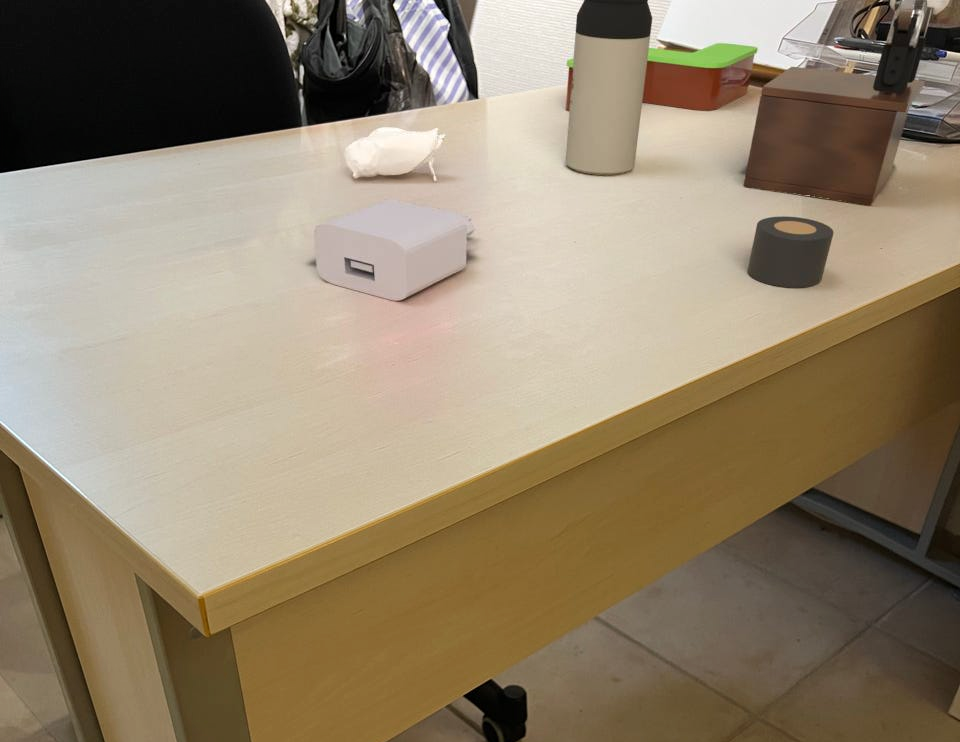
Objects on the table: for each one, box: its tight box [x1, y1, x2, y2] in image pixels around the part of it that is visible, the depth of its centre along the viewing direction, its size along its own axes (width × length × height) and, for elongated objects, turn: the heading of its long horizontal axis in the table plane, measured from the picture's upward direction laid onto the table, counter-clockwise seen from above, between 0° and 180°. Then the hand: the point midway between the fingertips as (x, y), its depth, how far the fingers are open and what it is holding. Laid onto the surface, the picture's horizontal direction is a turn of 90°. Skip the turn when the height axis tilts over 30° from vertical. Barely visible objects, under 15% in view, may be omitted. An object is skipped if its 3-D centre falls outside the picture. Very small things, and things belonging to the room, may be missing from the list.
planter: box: [565, 42, 758, 112], centre depth 137 cm, size 30×18×6 cm, turn 150°
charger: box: [313, 198, 476, 301], centre depth 81 cm, size 5×9×15 cm
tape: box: [747, 216, 835, 289], centre depth 82 cm, size 6×6×4 cm
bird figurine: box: [343, 126, 446, 182], centre depth 102 cm, size 5×7×10 cm
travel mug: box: [565, 0, 653, 176], centre depth 103 cm, size 8×8×18 cm
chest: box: [743, 94, 910, 207], centre depth 104 cm, size 14×14×9 cm
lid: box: [760, 39, 925, 112], centre depth 99 cm, size 15×14×6 cm
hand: (893, 84), depth 99 cm, fingers closed on lid, 6 cm apart
